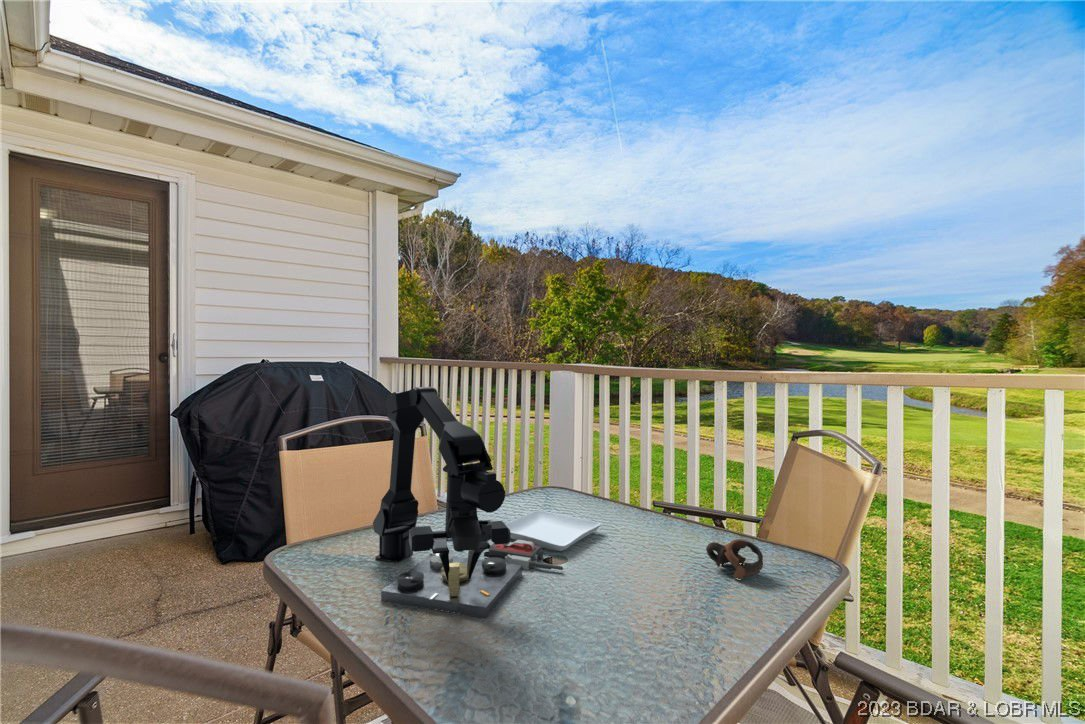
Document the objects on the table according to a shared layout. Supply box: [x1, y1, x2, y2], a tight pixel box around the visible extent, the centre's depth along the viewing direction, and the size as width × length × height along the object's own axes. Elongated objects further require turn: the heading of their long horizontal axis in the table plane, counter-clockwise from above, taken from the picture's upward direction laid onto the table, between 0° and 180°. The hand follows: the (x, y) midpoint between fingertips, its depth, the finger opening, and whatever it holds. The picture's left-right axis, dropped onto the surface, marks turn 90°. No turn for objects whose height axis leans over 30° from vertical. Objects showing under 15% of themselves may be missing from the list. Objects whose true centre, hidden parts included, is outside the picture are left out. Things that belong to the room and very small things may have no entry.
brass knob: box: [441, 563, 468, 597], centre depth 104 cm, size 12×6×6 cm, turn 7°
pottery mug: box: [705, 538, 764, 580], centre depth 116 cm, size 12×10×8 cm
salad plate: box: [504, 509, 602, 552], centre depth 138 cm, size 21×21×3 cm
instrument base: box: [380, 549, 523, 619], centre depth 107 cm, size 22×20×5 cm
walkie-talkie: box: [483, 540, 564, 571], centre depth 121 cm, size 9×4×20 cm
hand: (458, 579), depth 100 cm, fingers open, 4 cm apart
